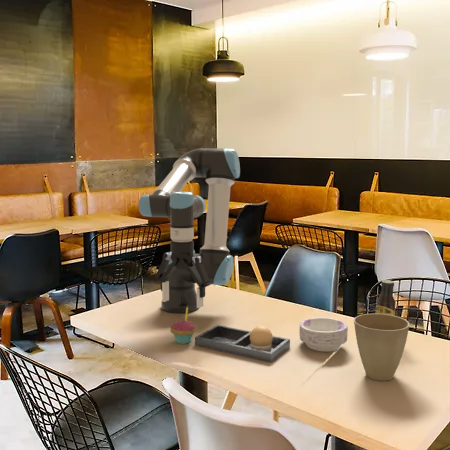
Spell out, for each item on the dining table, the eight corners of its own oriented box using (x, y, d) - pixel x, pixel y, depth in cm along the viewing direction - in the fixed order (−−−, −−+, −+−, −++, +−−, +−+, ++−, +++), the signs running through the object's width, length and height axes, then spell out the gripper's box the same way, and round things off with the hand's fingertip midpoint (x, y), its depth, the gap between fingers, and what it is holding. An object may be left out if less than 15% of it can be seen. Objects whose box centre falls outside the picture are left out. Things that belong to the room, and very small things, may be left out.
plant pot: (403, 367, 159) (406, 315, 156) (409, 389, 144) (412, 332, 142) (351, 362, 162) (353, 311, 159) (351, 383, 148) (354, 328, 145)
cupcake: (185, 334, 185) (184, 301, 183) (201, 341, 179) (201, 306, 177) (165, 341, 179) (164, 306, 177) (181, 348, 173) (181, 312, 171)
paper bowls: (296, 338, 181) (297, 316, 180) (342, 339, 181) (343, 316, 180) (301, 356, 166) (302, 332, 165) (351, 357, 166) (352, 332, 165)
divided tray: (194, 347, 173) (194, 337, 173) (217, 334, 185) (217, 324, 185) (271, 365, 160) (271, 353, 159) (289, 349, 172) (290, 339, 171)
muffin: (245, 352, 168) (245, 328, 167) (256, 344, 174) (256, 321, 173) (266, 356, 164) (266, 332, 163) (276, 348, 170) (276, 325, 169)
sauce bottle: (370, 338, 182) (372, 281, 179) (379, 333, 186) (381, 277, 183) (388, 343, 177) (391, 284, 174) (397, 338, 182) (400, 281, 179)
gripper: (144, 238, 177) (145, 301, 180) (208, 245, 164) (208, 312, 167) (158, 235, 183) (158, 295, 186) (221, 241, 171) (221, 306, 174)
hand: (182, 304), depth 177 cm, fingers open, 13 cm apart
